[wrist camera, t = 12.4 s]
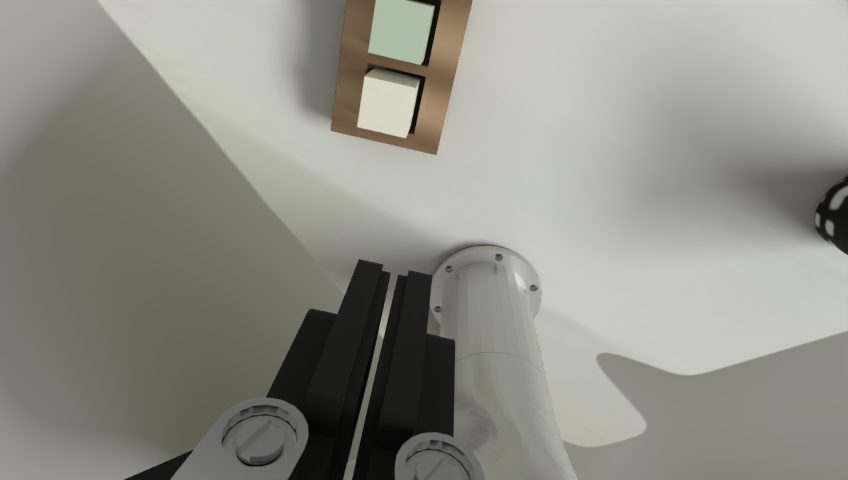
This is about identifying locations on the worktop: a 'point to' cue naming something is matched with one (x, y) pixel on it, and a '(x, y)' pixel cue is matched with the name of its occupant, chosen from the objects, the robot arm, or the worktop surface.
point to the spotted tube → (834, 216)
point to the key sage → (401, 29)
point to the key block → (437, 70)
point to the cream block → (388, 102)
